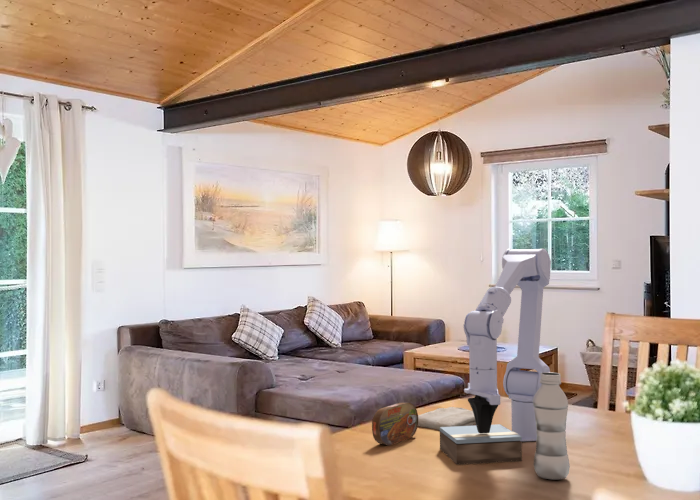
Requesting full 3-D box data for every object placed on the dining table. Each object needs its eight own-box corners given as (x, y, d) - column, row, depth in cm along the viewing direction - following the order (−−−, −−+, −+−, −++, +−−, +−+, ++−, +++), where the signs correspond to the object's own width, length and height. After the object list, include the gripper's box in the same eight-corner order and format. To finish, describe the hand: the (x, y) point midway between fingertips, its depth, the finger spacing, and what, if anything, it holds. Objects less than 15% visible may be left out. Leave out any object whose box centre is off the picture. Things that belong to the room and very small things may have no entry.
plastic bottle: (564, 485, 135) (563, 377, 135) (528, 480, 139) (527, 374, 139) (574, 476, 140) (573, 372, 141) (539, 471, 144) (538, 370, 144)
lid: (500, 427, 163) (500, 423, 163) (521, 440, 151) (521, 436, 151) (439, 430, 161) (439, 426, 161) (456, 443, 149) (456, 439, 149)
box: (500, 445, 163) (500, 428, 163) (521, 460, 151) (521, 441, 151) (439, 449, 161) (439, 431, 161) (456, 464, 149) (456, 445, 149)
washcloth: (489, 421, 189) (489, 409, 189) (452, 435, 175) (452, 422, 175) (450, 415, 197) (450, 403, 197) (412, 427, 183) (412, 415, 183)
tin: (380, 449, 162) (380, 411, 162) (369, 446, 164) (369, 409, 164) (419, 435, 173) (419, 400, 173) (408, 433, 175) (408, 398, 175)
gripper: (454, 363, 160) (454, 425, 160) (476, 374, 146) (477, 442, 145) (485, 362, 161) (485, 423, 161) (510, 372, 147) (510, 440, 147)
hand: (483, 432), depth 153 cm, fingers closed
